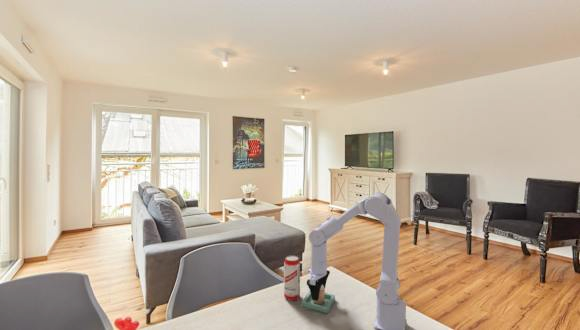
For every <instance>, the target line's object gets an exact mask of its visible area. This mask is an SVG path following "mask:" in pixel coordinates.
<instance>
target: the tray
mask: <svg viewBox="0 0 580 330" xmlns="http://www.w3.org/2000/svg"><path fill="white" fill-rule="evenodd" d="M335 301H336V295H335V294H331V293H329V292H327V293H326V292H325V303H324V304H323V305H321V306H320V305H316V304H313V303H312V296H311V292H310V290H309V291H308V292H307V294H306V295H305V296H304V298H303V299H302V301H301V306H300V307H301V308H302V309H306V310H310V311H313V312H316V313H321V314H324V315H328V313H329V312H330V310H331V309H332V306H333V304H334V303H335Z"/></svg>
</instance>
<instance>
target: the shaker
mask: <svg viewBox="0 0 580 330" xmlns="http://www.w3.org/2000/svg"><path fill="white" fill-rule="evenodd" d="M325 290H326V287H325V288H324V285H322V286H321V288H320V293H319V299H318V301H316V300H312V303H313V304H316V305H320V306H321V305H323V304H324V303H325V293H326V291H325Z"/></svg>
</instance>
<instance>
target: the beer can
mask: <svg viewBox="0 0 580 330" xmlns="http://www.w3.org/2000/svg"><path fill="white" fill-rule="evenodd" d="M283 269H284V270H283V296H284V297H285V299H286V300H287V301H291V302H292V301H297V300H298V299H299V298H300V297H301V296H300V295H301V294H300V293H301V263H300V259H299V257H298V256H297V255H294V254H293V255H288V256H286V257H285V260H284V261H283Z"/></svg>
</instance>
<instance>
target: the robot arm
mask: <svg viewBox="0 0 580 330" xmlns="http://www.w3.org/2000/svg"><path fill="white" fill-rule="evenodd" d="M367 214H368V215H369V216H372V217H373V218H375V219H377V220H379V222H380V223H382V224H383V225H384V226H383V243H382V258H381V259H382V261H381V262H382V263H381V273H380V278H379V283H378V284H379V285H378V286H377V288H376V290H375V295H376V314H375V319H374V323H373V328H374V329H378V330H406V326H407V319H406V317H407V301H404V300H402V299H400V296H399V290H400V288H401V282H400V279H399V275H398V274H399V272H398V264H399V251H400V250H399V249H400V248H399V247H400V232H401V231H400V230H401V217H400V215H399V213H398V211H397V210H396V208H395V205H394V204H393V201H392V198H390V197H389V196H388V195H387V194H385V193H383V192H380V191H379V192H375V193H372V195H371V196H370V195H369V196H367V197H365V198H363V199H362V200H359V201H358V202H356V203H355V204H353V205H352V206H351V207H349V209H347V210H345V211H344V212H343V213H342V214H340V215H339V216H337V215H333V216H329V217H326V221H324V222H323V223H322V224H321V223H320V224H318V225H317V227H316V228H315V229H312V230H311V232H310V233H309V234H308V240H309V242H310V243H311V244H310V245H311V249H310V250H311V252H310V253H311V254H310V259H311V262H310V263H311V264H310V265H311V266H310V268H308V270H307V272H309V273H310V278H309V279H307V281H306V285H307V287H308V289H309V291H310V292H311V296H312V300H316V301H318V299H319V293H320V288H321V286H322V285H324V288H325V289H326V286H327V280H328V277H329V275H330V270H327V269H328V264H327V261H328V260H327V241H328V240H330V239H331V238H332V237H334V236H335V235H337V234H338V233H340V232H341V231H343V230H344V224H346V223H348V222H349V221H351V220H352V219H354V218H356V217H357V216H359V215H363V216H364V215H365V216H366V215H367Z"/></svg>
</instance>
